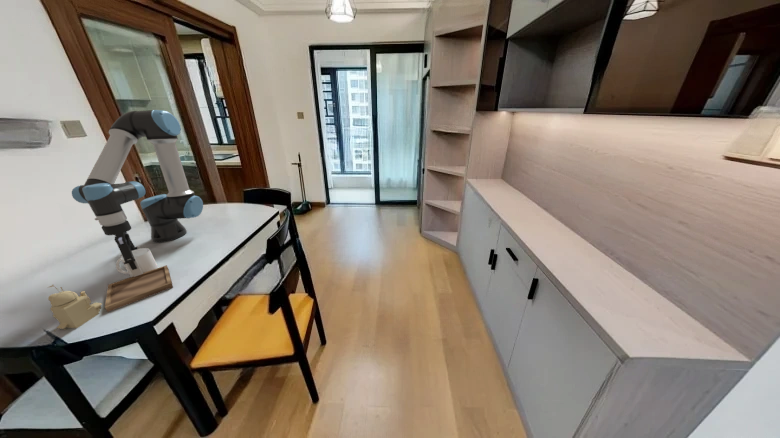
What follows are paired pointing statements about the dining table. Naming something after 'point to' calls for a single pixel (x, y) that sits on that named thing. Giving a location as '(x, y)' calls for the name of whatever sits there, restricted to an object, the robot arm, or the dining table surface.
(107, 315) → the dining table surface
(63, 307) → the robot
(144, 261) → the mug
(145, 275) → the tray
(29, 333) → the dining table surface
